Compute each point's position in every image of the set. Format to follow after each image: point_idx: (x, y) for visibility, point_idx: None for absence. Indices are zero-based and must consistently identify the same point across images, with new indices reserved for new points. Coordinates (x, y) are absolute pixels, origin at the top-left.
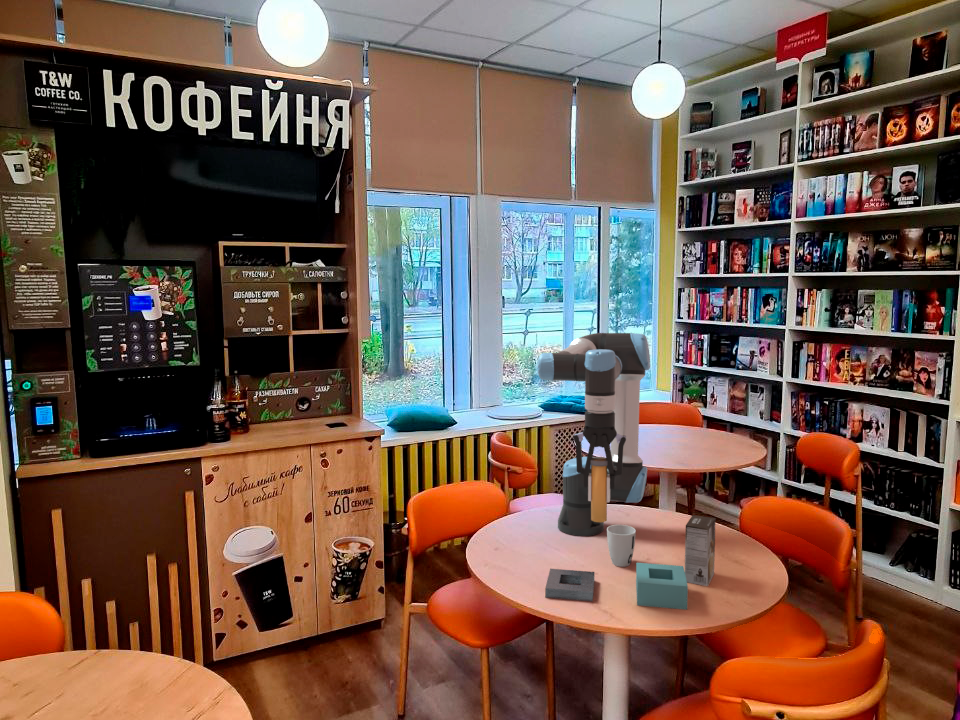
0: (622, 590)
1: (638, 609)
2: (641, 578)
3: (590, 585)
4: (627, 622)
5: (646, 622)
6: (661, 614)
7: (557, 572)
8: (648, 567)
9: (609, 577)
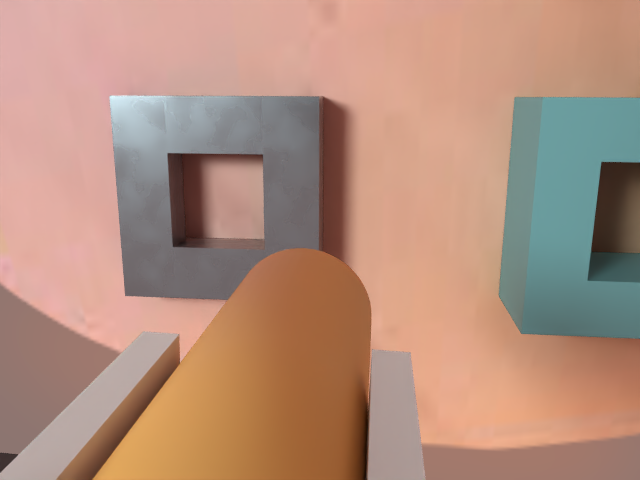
0: (447, 172)
1: (500, 326)
2: (546, 290)
3: (306, 244)
4: (450, 422)
5: (519, 415)
6: (586, 352)
7: (149, 134)
8: (603, 153)
9: (392, 44)
